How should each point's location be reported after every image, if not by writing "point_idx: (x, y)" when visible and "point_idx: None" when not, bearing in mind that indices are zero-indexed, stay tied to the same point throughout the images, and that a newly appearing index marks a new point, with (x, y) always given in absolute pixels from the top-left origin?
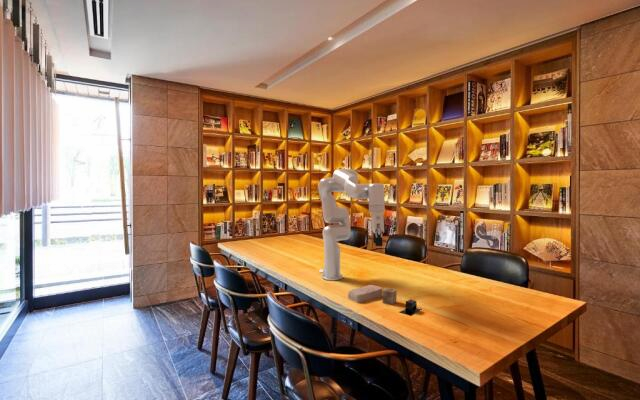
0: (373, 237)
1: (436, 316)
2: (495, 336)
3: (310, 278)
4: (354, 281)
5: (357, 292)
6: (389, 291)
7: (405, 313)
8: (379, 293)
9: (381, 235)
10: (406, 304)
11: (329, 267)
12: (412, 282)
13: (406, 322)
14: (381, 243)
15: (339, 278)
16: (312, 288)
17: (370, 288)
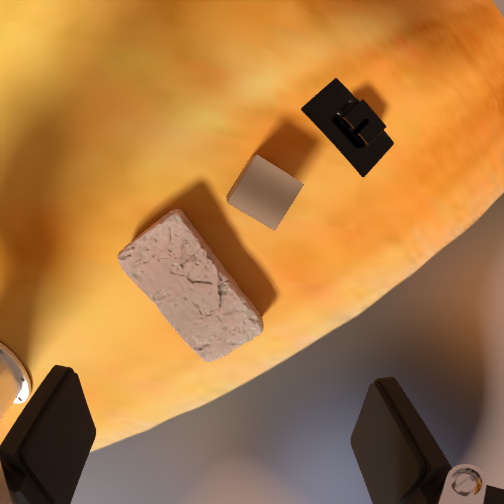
0: (71, 489)
1: (394, 63)
2: (476, 12)
3: None
4: (13, 302)
5: (235, 332)
6: (289, 197)
7: (376, 155)
8: (191, 225)
9: (483, 490)
10: (369, 144)
11: (4, 409)
12: (14, 60)
13: (434, 177)
14: (401, 405)
15: (12, 355)
16: (122, 436)
17: (172, 271)
